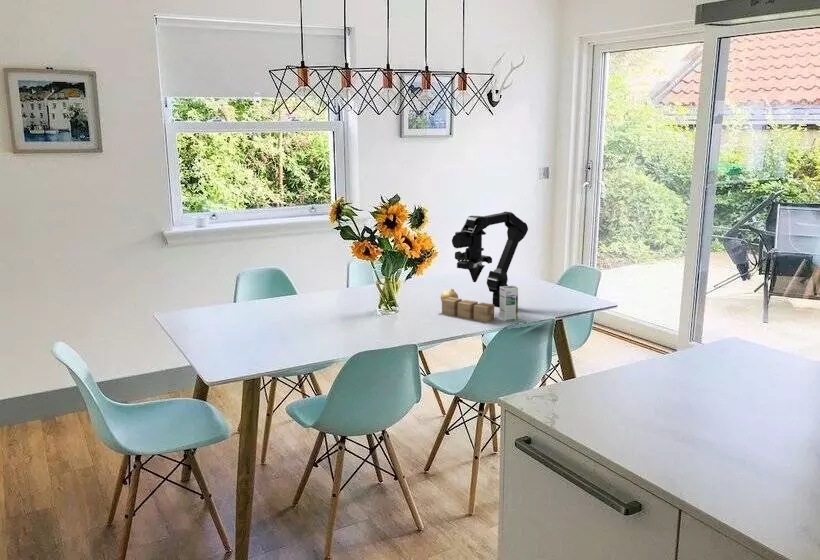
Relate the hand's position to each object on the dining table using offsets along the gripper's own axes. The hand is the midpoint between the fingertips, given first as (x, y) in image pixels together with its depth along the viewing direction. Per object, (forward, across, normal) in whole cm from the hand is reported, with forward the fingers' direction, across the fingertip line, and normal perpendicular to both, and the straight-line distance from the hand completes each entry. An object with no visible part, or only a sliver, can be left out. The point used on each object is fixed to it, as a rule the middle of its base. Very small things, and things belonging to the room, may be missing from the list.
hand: (474, 282), depth 295 cm
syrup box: (+13, +4, +20) cm, 24 cm away
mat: (+13, +11, +4) cm, 17 cm away
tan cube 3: (+12, +11, -4) cm, 17 cm away
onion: (+13, -4, -16) cm, 21 cm away
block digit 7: (+12, +11, +12) cm, 20 cm away
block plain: (+12, +11, +4) cm, 17 cm away
